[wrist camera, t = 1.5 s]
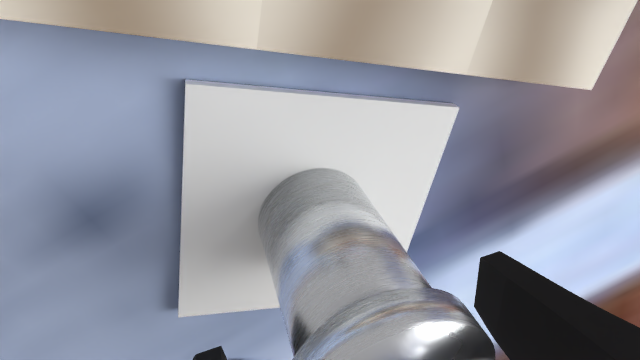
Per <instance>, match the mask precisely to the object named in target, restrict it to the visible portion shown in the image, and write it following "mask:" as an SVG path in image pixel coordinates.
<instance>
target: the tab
mask: <svg viewBox="0 0 640 360" xmlns="http://www.w3.org/2000/svg"><path fill="white" fill-rule="evenodd" d="M458 110H459V107H458V106H456V105H455V104H453V103H443V102H432V101H421V100H409V99H398V98H387V97H376V96H365V95H354V94H343V93H332V92H321V91H310V90H299V89H288V88H276V87H265V86H254V85H243V84H232V83H221V82H210V81H199V80H188V79H185V103H184V136H183V168H182V201H181V234H180V267H179V300H178V317H188V316H198V315H208V314H218V313H229V312H239V311H249V310H260V309H270V308H280V305H279V301H278V298H277V294H276V291H275V287H274V284H273V280H272V276H271V273H270V269H269V266H268V262H267V259H266V255H265V251H264V248H263V244H262V241H261V237H260V234H259V230H258V217H259V212H260V209H261V207H262V204H263V202H264V201H265V199H266V197H267V196H268V195H269V193H270V192H271V191H272V190H273V189H274V188H275V187H276V186H277V185H278V184H280V183H281V182H282V181H284V180H285V179H287V178H288V177H290V176H292V175H294V174H297V173H299V172H302V171H306V170H309V169H316V168H328V169H334V170H338V171H341V172H344V173H346V174H348V175H349V176H351V177H352V178H353V179H354V180H355V181H356V182H357V183H358V184H359V186H360V187H361V188H362V190H363V191H364V193H365V194H366V195H367V197H368V198H369V200H370V201H371V203H372V204H373V205H374V207H375V208H376V210H377V211H378V213H379V214H380V215H381V217H382V218H383V220H384V221H385V222H386V224H387V225H388V227H389V228H390V230H391V231H392V232H393V234H394V235H395V237H396V238H397V239H398V241H399V242H400V244H401V245H402V247H403V248H404V249H405V251H406V252H407V250H408V247H409V244H410V242H411V239H412V236H413V233H414V231H415V228H416V225H417V223H418V220H419V217H420V214H421V212H422V209H423V206H424V203H425V201H426V198H427V195H428V192H429V190H430V187H431V184H432V182H433V179H434V176H435V173H436V171H437V168H438V165H439V162H440V160H441V157H442V154H443V151H444V149H445V146H446V143H447V141H448V138H449V135H450V132H451V130H452V127H453V124H454V121H455V119H456V116H457V113H458Z"/></svg>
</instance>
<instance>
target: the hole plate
mask: <svg viewBox="0 0 640 360" xmlns="http://www.w3.org/2000/svg"><path fill="white" fill-rule="evenodd" d="M637 1H638V0H0V19H6V20H14V21H22V22H31V23H39V24H47V25H56V26H64V27H72V28H80V29H89V30H97V31H105V32H114V33H122V34H130V35H139V36H147V37H155V38H164V39H172V40H180V41H188V42H197V43H205V44H213V45H222V46H230V47H238V48H247V49H255V50H263V51H272V52H280V53H288V54H296V55H305V56H313V57H321V58H330V59H338V60H346V61H355V62H363V63H371V64H380V65H388V66H396V67H404V68H413V69H421V70H429V71H438V72H446V73H454V74H463V75H471V76H479V77H488V78H496V79H504V80H513V81H521V82H529V83H537V84H546V85H554V86H562V87H571V88H579V89H587V90H592V88H593V86H594V84H595V82H596V80H597V78H598V77H599V75H600V73H601V71H602V69H603V67H604V65H605V63H606V61H607V59H608V57H609V55H610V53H611V51H612V49H613V47H614V46H615V44H616V42H617V40H618V38H619V36H620V34H621V32H622V30H623V28H624V26H625V24H626V22H627V20H628V18H629V16H630V14H631V13H632V11H633V9H634V7H635V5H636V3H637Z"/></svg>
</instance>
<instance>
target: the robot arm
mask: <svg viewBox="0 0 640 360" xmlns="http://www.w3.org/2000/svg"><path fill="white" fill-rule="evenodd" d="M474 307H475V309H476V310H477V312H478V314H479V315H480V317H481V319H482V320H483V322H484V324H485V325H486V327H487V328H488V330H489V332H490V333H491V335H492V336H493V338H494V339H495V341H496V342H497V343H498V345H499V346H500V347H501V349H502V350H503V351H504V352H505V354H506V355H507V356H508V358H509V359H510V360H640V328H639V327H637V326H635V325H633V324H631V323H629V322H627V321H625V320H623V319H621V318H619V317H617V316H615V315H613V314H611V313H609V312H607V311H605V310H603V309H601V308H599V307H597V306H596V305H594V304H592V303H590V302H588V301H586V300H584V299H583V298H581V297H579V296H577V295H575V294H573V293H572V292H570V291H568V290H566V289H565V288H563V287H561V286H559V285H557V284H556V283H554V282H552V281H550V280H549V279H547V278H545V277H544V276H542V275H540V274H538V273H537V272H535V271H533V270H532V269H530V268H528V267H526V266H525V265H523V264H521V263H520V262H518V261H516V260H514V259H513V258H511V257H509V256H507V255H506V254H504V253H502V252H500V251H499V252H496V253H493V254H490V255H487V256H484V257H481V258H480V264H479V272H478V280H477V288H476V296H475V303H474ZM193 360H227V358H226V356H225V354H224V351H223V349H222V347H221V346H219V347H216V348H213V349H210V350H207V351H205V352H202V353H199V354H196V355H195V357H194V358H193Z"/></svg>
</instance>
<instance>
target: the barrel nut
mask: <svg viewBox="0 0 640 360" xmlns="http://www.w3.org/2000/svg"><path fill="white" fill-rule="evenodd" d="M258 230H259V234H260V237H261V241H262V244H263V248H264V251H265V255H266V259H267V262H268V266H269V269H270V273H271V276H272V280H273V284H274V287H275V291H276V294H277V298H278V301H279V305H280V309H281V312H282V316H283V319H284V323H285V327H286V330H287V334H288V337H289V341H290V344H291V348H292V352H293V355H294V358H293V360H495V349H494V345H493V343H492V341H491V340H490V338H489V337H488V335H487V334H486V333H485V332H484V330H483V329H482V328H481V326H480V325H479V324H478V322H477V321H476V320H475V318H474V317H473V316H472V314H471V313H470V312H469V310H468V309H467V308H466V306H465V305H464V304H463V303H462V302H461V301H460V300H459V299H458V298H457V297H455V296H454V295H452V294H450V293H448V292H445V291H442V290H438V289H434V288H431V286H430V285H429V283H428V282H427V281H426V279H425V278H424V276H423V275H422V274H421V272H420V271H419V269H418V268H417V266H416V265H415V264H414V262H413V261H412V259H411V258H410V257H409V255H408V254H407V252H406V251H405V249H404V248H403V247H402V245H401V244H400V242H399V241H398V239H397V238H396V237H395V235H394V234H393V232H392V231H391V230H390V228H389V227H388V225H387V224H386V222H385V221H384V220H383V218H382V217H381V215H380V214H379V213H378V211H377V210H376V208H375V207H374V205H373V204H372V203H371V201H370V200H369V198H368V197H367V195H366V194H365V193H364V191H363V190H362V188H361V187H360V186H359V184H358V183H357V182H356V181H355V180H354V179H353V178H352V177H351V176H349V175H348V174H346V173H344V172H341V171H338V170H334V169H328V168H316V169H309V170H306V171H302V172H299V173H297V174H294V175H292V176H290V177H288V178H287V179H285V180H284V181H282V182H281V183H280V184H278V185H277V186H276V187H275V188H274V189H273V190H272V191H271V192H270V193H269V195H268V196H267V197H266V199H265V201H264V202H263V204H262V207H261V209H260V212H259V217H258Z"/></svg>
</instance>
